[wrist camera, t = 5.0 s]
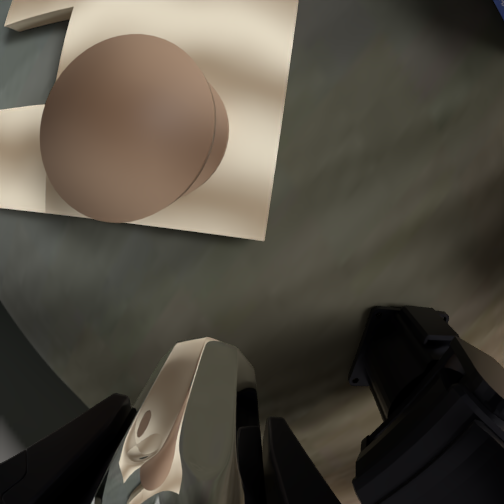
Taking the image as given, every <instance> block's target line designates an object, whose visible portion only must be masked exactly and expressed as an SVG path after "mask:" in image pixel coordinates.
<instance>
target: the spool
mask: <svg viewBox="0 0 504 504" xmlns="http://www.w3.org/2000/svg"><path fill="white" fill-rule="evenodd" d="M228 139H229V120H228V115H227V111H226V109H225V106H224V103H223V101H222V100H221V98H220V96H219V95H218V93H217V92H216V90H215V89H214V88H213V86H212V85H211V84H210V83H209V82H208V81H207V79H206V78H205V76H204V74H203V73H202V71H201V70H200V68H199V67H198V66H197V64H196V63H195V62H194V60H193V59H192V58H191V57H190V56H189V55H188V54H187V53H186V52H185V51H184V50H182V49H181V48H179V47H178V46H176V45H175V44H173V43H171V42H169V41H167V40H165V39H162V38H159V37H156V36H152V35H145V34H127V35H120V36H116V37H112V38H109V39H106V40H104V41H101V42H99V43H97V44H95V45H93V46H92V47H90V48H88V49H87V50H85V51H84V52H83V53H81V54H80V55H79V56H77V57H76V58H75V59H74V60H73V61H72V62H71V63H70V64H69V65H68V66H67V67H66V68H65V70H64V71H63V72H62V73H61V75H60V76H59V78H58V79H57V81H56V82H55V84H54V86H53V87H52V89H51V91H50V93H49V96H48V98H47V101H46V103H45V106H44V110H43V114H42V118H41V125H40V151H41V157H42V161H43V165H44V168H45V171H46V173H47V176H48V178H49V180H50V182H51V184H52V185H53V187H54V189H55V190H56V192H57V193H58V194H59V195H60V197H61V198H62V199H63V200H64V201H65V202H66V203H67V204H68V205H69V206H71V207H72V208H73V209H75V210H76V211H78V212H79V213H81V214H83V215H85V216H87V217H90V218H92V219H95V220H99V221H104V222H111V223H123V222H132V221H136V220H140V219H143V218H146V217H148V216H151V215H153V214H155V213H157V212H158V211H160V210H162V209H164V208H166V207H167V206H169V205H170V204H172V203H173V202H174V201H176V200H177V199H178V198H180V197H182V196H184V195H186V194H188V193H190V192H192V191H194V190H195V189H197V188H198V187H200V186H201V185H202V184H204V183H205V182H206V181H207V180H208V179H209V178H210V177H211V176H212V175H213V173H214V172H215V171H216V169H217V168H218V166H219V165H220V163H221V161H222V159H223V157H224V154H225V151H226V148H227V144H228Z"/></svg>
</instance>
